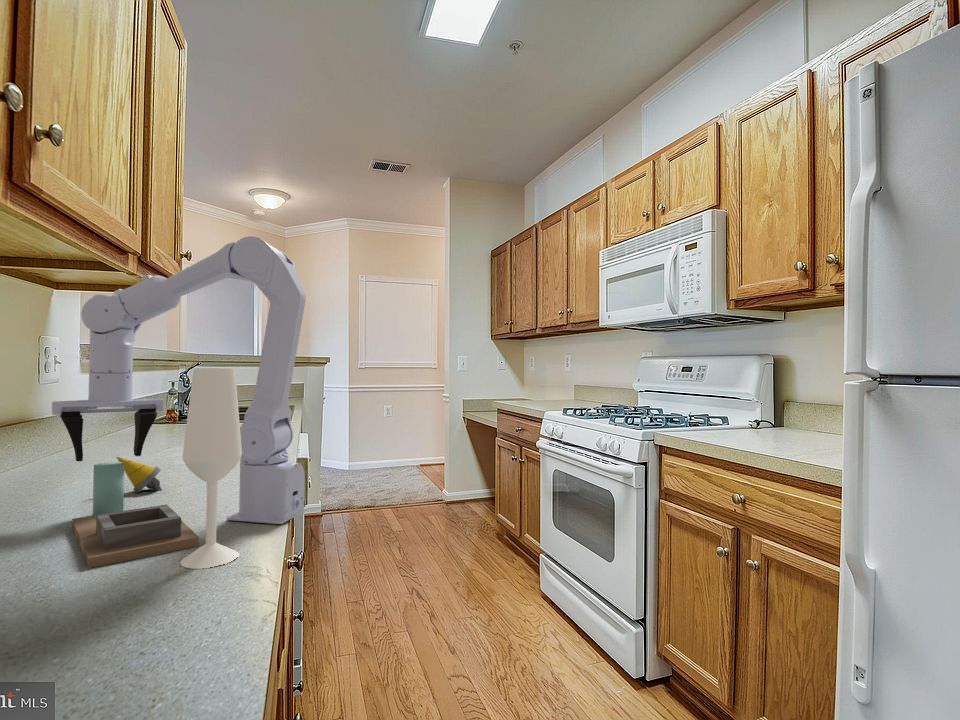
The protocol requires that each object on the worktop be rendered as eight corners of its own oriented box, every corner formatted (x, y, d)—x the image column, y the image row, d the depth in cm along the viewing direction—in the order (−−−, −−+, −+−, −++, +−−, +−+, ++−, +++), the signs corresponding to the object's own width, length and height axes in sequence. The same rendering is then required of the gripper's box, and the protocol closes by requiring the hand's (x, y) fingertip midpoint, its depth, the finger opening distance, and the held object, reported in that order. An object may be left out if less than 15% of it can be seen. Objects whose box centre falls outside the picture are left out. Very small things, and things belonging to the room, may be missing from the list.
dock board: (199, 546, 71) (199, 518, 71) (88, 568, 63) (89, 537, 63) (164, 512, 86) (165, 489, 86) (72, 526, 78) (72, 501, 78)
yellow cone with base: (157, 497, 96) (110, 463, 93) (146, 505, 99) (99, 471, 96) (177, 475, 101) (132, 441, 97) (166, 483, 104) (122, 450, 100)
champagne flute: (172, 570, 63) (176, 368, 63) (189, 550, 69) (193, 367, 69) (233, 566, 64) (237, 369, 64) (244, 547, 71) (248, 368, 71)
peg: (129, 511, 86) (130, 462, 86) (108, 518, 82) (109, 467, 82) (108, 510, 87) (109, 461, 87) (86, 517, 83) (87, 466, 83)
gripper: (157, 372, 92) (156, 449, 92) (51, 371, 82) (49, 458, 82) (167, 373, 87) (165, 455, 87) (54, 373, 77) (52, 466, 77)
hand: (109, 457), depth 84 cm, fingers open, 7 cm apart
